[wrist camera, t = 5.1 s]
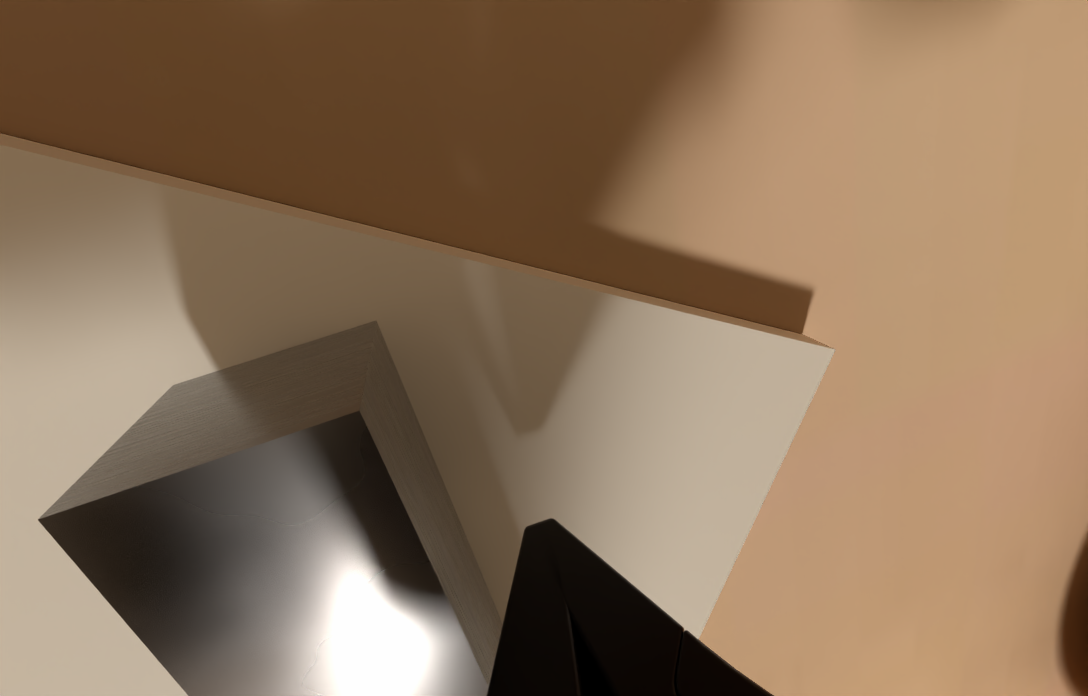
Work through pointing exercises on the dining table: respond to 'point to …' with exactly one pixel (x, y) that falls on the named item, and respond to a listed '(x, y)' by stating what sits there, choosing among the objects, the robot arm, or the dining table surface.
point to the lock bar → (287, 533)
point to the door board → (422, 363)
